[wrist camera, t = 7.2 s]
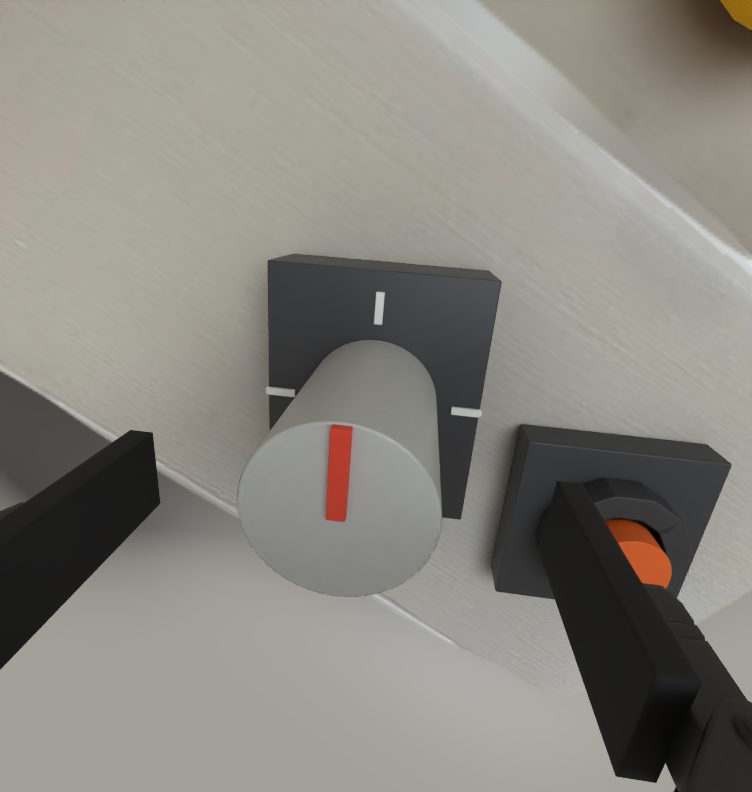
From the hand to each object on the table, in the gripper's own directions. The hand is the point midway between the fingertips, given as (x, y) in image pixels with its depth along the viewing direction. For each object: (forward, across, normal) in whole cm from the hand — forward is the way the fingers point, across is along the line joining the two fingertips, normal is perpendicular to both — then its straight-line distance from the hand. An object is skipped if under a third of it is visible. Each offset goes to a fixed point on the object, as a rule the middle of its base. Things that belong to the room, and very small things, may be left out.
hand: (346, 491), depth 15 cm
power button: (+8, +13, -7) cm, 17 cm away
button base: (+11, +13, -7) cm, 19 cm away
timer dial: (+7, 0, 0) cm, 7 cm away
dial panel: (+11, 0, 0) cm, 11 cm away
